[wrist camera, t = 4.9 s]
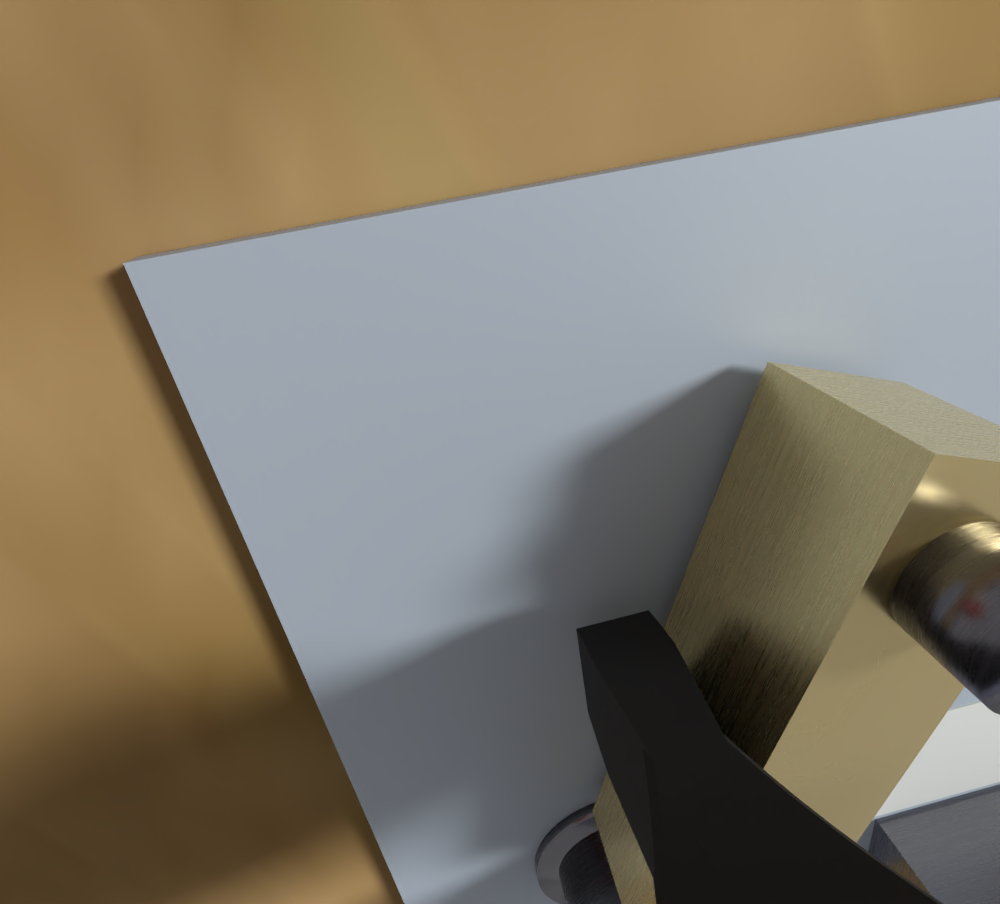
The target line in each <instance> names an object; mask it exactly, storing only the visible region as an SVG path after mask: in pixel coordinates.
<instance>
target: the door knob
mask: <svg viewBox="0 0 1000 904" xmlns="http://www.w3.org/2000/svg"><path fill="white" fill-rule="evenodd" d="M594 805H595V803H592V804H590V805H587V806H585V807H583V808H581V809H579V810H577V811H575V812H574V813H572V814H570V815H569V816H567V817H566V818H564V819H563V820H562V821H560V822H559V823H558V824H557V825H556V826H554V827H553V828H552V829H551V830H550V831H549V832H548V834H547V835H546V836H545V837H544V839H543V840H542V841H541V843H540V845H539V847H538V849H537V852H536V855H535V869H536V874H537V879H538V883H539V886H540V888H541V890H542V891H543V893H544V894H545V895H546V896H547V897H549V898H550V899H552V900H553V901H555V902H557V903H560V904H621V901H620V898H619V894H618V891H617V888H616V885H615V882H614V878H613V875H612V872H611V869H610V866H609V862H608V859H607V856H606V853H605V850H604V846H603V843H602V840H601V837H600V834H599V830H598V827H597V824H596V821H595V818H594V814H593V811H592V810H593V808H594Z"/></svg>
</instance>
